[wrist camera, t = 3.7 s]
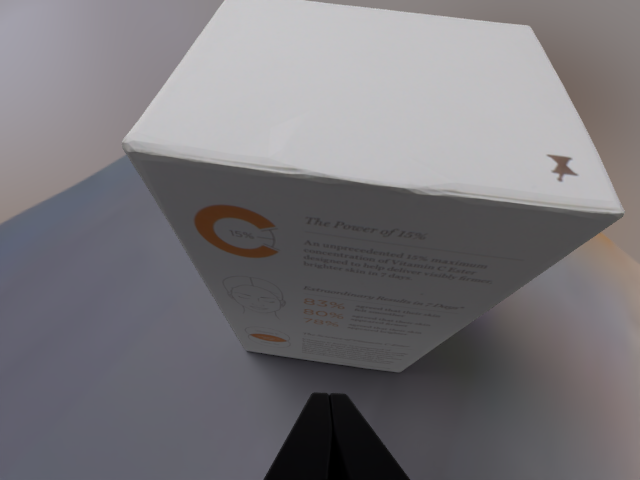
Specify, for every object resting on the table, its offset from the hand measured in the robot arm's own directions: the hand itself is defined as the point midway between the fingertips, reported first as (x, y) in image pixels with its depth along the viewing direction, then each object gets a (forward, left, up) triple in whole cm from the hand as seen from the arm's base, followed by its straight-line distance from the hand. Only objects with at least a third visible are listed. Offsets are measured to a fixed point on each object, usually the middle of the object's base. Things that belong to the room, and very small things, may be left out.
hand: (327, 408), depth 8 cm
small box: (+5, -3, -8) cm, 10 cm away
